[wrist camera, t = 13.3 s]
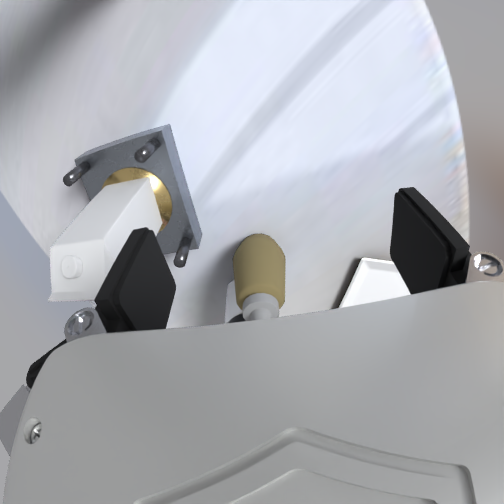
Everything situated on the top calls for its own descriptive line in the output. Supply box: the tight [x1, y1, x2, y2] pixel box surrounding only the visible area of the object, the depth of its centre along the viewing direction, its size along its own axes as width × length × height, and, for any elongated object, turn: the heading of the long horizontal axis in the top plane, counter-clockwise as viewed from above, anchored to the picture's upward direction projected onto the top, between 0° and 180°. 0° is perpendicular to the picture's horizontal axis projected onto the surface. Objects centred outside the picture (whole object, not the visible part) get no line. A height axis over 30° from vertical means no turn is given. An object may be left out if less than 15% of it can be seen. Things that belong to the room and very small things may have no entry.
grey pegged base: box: [63, 124, 202, 268], centre depth 38 cm, size 18×14×9 cm
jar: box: [224, 280, 246, 324], centre depth 48 cm, size 9×8×12 cm
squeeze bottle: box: [233, 234, 285, 321], centre depth 41 cm, size 8×8×18 cm
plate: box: [339, 257, 411, 308], centre depth 54 cm, size 19×19×2 cm
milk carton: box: [48, 177, 162, 301], centre depth 31 cm, size 7×7×19 cm
